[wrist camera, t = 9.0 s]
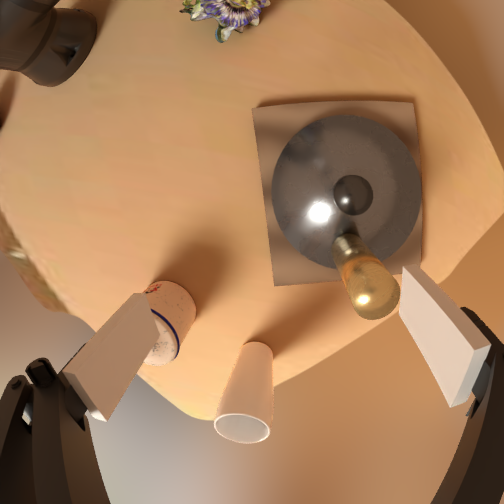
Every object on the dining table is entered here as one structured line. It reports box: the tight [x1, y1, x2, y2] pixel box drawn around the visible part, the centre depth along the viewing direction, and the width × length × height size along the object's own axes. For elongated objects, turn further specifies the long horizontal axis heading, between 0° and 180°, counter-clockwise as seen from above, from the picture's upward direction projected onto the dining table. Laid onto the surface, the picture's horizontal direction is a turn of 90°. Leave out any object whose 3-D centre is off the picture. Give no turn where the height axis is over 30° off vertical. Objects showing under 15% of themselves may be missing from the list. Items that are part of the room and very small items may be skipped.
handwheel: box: [271, 115, 421, 320], centre depth 24 cm, size 18×18×13 cm
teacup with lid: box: [143, 281, 196, 366], centre depth 35 cm, size 12×9×12 cm
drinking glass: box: [214, 342, 274, 443], centre depth 34 cm, size 7×7×15 cm
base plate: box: [252, 101, 422, 286], centre depth 31 cm, size 22×20×2 cm
